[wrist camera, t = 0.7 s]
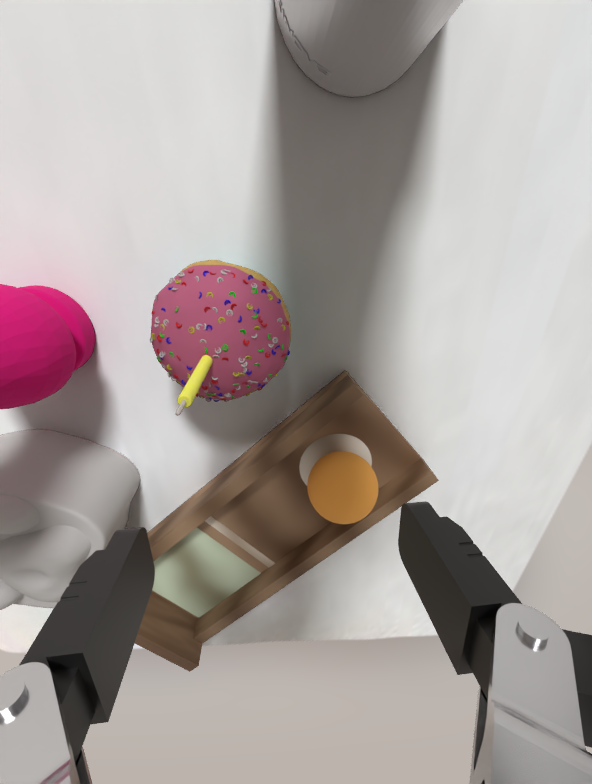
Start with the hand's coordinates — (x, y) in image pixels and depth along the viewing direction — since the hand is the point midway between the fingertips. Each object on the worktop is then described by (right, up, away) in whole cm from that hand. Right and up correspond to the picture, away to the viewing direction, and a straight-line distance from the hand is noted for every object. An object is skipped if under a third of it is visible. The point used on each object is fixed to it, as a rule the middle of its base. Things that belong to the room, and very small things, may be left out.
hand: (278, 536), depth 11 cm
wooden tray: (-3, -7, +22) cm, 23 cm away
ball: (+4, -3, +16) cm, 17 cm away
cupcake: (-4, +10, +15) cm, 18 cm away
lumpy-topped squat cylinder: (-20, -3, +19) cm, 28 cm away
